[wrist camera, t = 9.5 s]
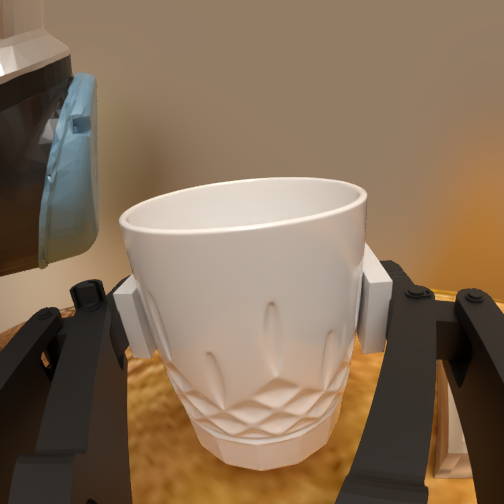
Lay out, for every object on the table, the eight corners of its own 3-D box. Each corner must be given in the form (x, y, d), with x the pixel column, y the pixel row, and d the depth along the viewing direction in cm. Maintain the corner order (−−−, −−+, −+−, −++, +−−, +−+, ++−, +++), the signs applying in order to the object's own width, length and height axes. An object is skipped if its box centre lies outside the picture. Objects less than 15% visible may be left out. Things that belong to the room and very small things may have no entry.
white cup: (150, 418, 14) (84, 216, 10) (258, 346, 19) (240, 175, 16) (276, 517, 9) (246, 254, 5) (378, 394, 14) (400, 183, 10)
